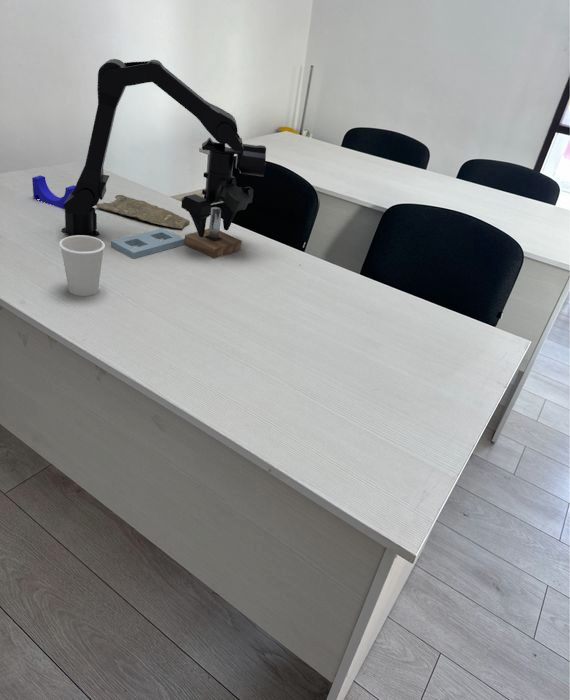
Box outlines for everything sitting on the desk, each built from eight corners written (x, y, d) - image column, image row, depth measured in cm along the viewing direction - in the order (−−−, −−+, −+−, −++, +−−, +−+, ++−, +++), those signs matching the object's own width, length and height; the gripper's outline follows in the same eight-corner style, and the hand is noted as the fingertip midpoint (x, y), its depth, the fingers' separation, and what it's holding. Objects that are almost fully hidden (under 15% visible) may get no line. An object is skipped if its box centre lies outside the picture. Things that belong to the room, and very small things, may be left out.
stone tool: (93, 210, 155) (176, 235, 150) (93, 199, 154) (177, 224, 149) (116, 200, 164) (196, 223, 159) (116, 190, 163) (197, 213, 158)
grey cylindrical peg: (212, 250, 145) (216, 211, 139) (205, 246, 146) (208, 208, 140) (219, 247, 146) (224, 209, 141) (212, 244, 148) (216, 206, 142)
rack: (133, 258, 133) (133, 252, 132) (111, 246, 137) (111, 240, 136) (184, 244, 145) (184, 238, 144) (162, 233, 148) (162, 228, 147)
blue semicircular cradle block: (82, 207, 155) (81, 185, 152) (71, 211, 151) (70, 189, 148) (45, 196, 158) (44, 174, 155) (33, 200, 154) (32, 177, 151)
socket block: (213, 258, 140) (214, 249, 139) (184, 244, 145) (184, 234, 143) (240, 249, 147) (241, 240, 146) (211, 236, 152) (212, 227, 151)
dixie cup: (59, 280, 119) (57, 235, 113) (101, 279, 122) (101, 234, 117) (63, 300, 112) (61, 252, 107) (108, 298, 116) (108, 251, 111)
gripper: (218, 186, 126) (211, 253, 134) (271, 175, 139) (262, 237, 147) (181, 171, 131) (177, 236, 139) (236, 162, 144) (229, 222, 152)
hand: (213, 233), depth 144 cm, fingers open, 9 cm apart
